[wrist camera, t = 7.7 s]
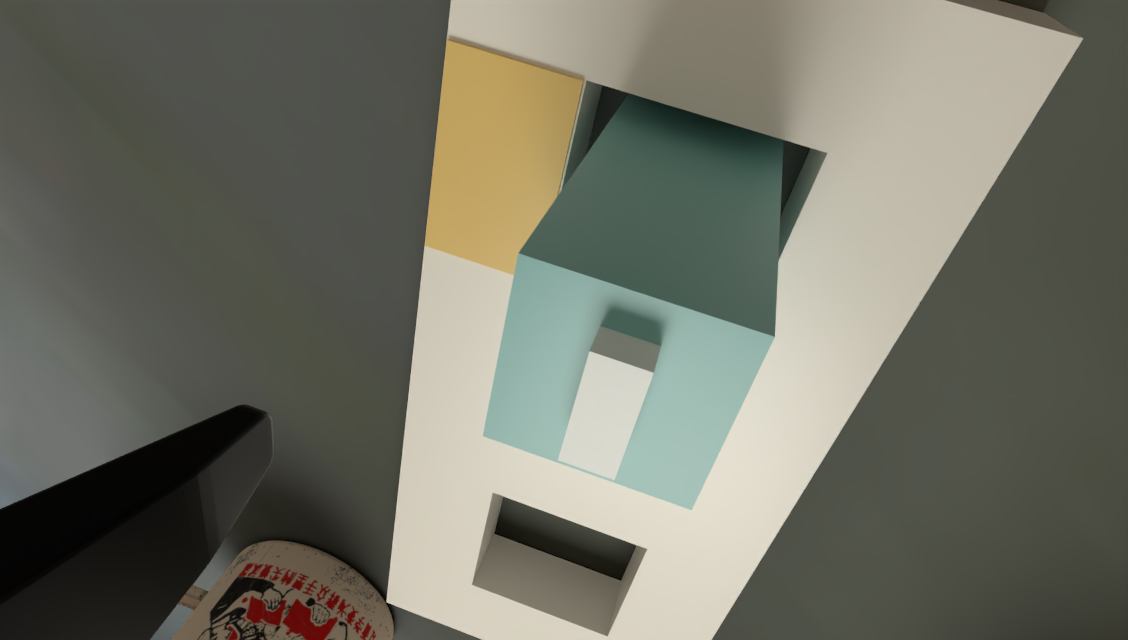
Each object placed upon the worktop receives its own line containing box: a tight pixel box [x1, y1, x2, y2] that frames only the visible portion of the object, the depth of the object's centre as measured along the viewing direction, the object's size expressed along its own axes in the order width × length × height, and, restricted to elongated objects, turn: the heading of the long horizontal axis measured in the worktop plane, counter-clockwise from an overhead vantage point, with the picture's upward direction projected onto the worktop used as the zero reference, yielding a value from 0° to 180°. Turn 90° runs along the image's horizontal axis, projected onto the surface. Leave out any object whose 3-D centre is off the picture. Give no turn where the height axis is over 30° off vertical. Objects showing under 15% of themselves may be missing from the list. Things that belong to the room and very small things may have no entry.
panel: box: [386, 0, 1083, 640], centre depth 22 cm, size 12×26×3 cm, turn 168°
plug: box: [483, 93, 784, 510], centre depth 15 cm, size 4×4×10 cm
